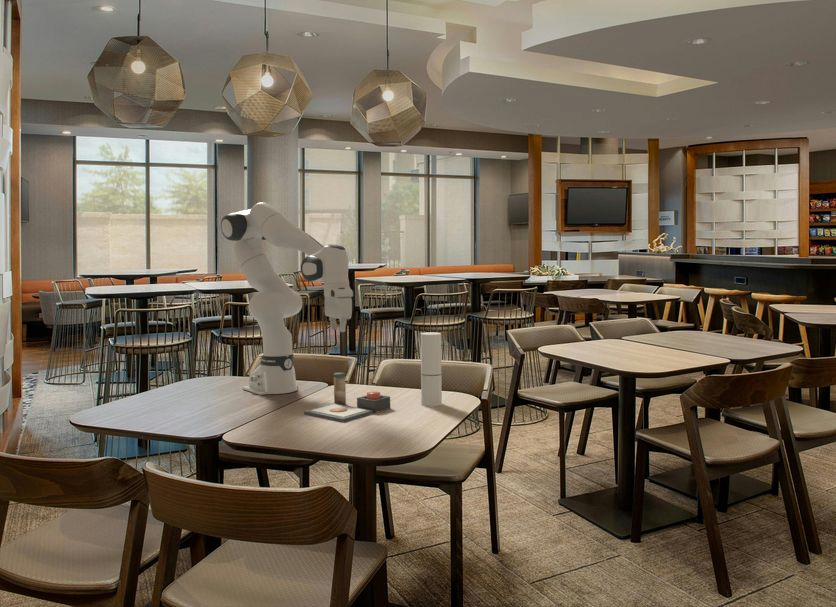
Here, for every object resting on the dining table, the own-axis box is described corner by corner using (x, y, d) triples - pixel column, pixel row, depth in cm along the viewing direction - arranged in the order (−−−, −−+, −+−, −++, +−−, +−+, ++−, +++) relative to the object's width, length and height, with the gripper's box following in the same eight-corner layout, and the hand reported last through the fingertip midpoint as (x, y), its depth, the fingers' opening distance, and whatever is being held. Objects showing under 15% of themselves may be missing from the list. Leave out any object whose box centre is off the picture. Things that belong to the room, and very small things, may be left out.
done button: (364, 401, 226) (364, 393, 226) (373, 399, 230) (372, 391, 230) (374, 403, 224) (374, 395, 223) (383, 401, 227) (383, 392, 227)
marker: (331, 404, 234) (331, 373, 233) (340, 402, 237) (339, 372, 236) (340, 406, 231) (339, 375, 230) (348, 404, 234) (347, 373, 233)
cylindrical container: (442, 401, 236) (441, 332, 234) (441, 406, 229) (440, 334, 227) (422, 401, 237) (421, 332, 235) (420, 406, 230) (419, 334, 228)
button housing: (357, 409, 226) (357, 397, 226) (372, 405, 233) (372, 393, 232) (374, 412, 221) (374, 400, 221) (390, 408, 228) (390, 396, 227)
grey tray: (304, 414, 220) (304, 410, 220) (334, 406, 232) (334, 402, 231) (343, 422, 210) (343, 418, 209) (372, 413, 221) (372, 409, 221)
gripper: (319, 290, 239) (321, 328, 240) (336, 292, 221) (338, 334, 222) (336, 289, 242) (337, 327, 243) (354, 291, 223) (356, 332, 224)
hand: (338, 330), depth 232 cm, fingers open, 8 cm apart
